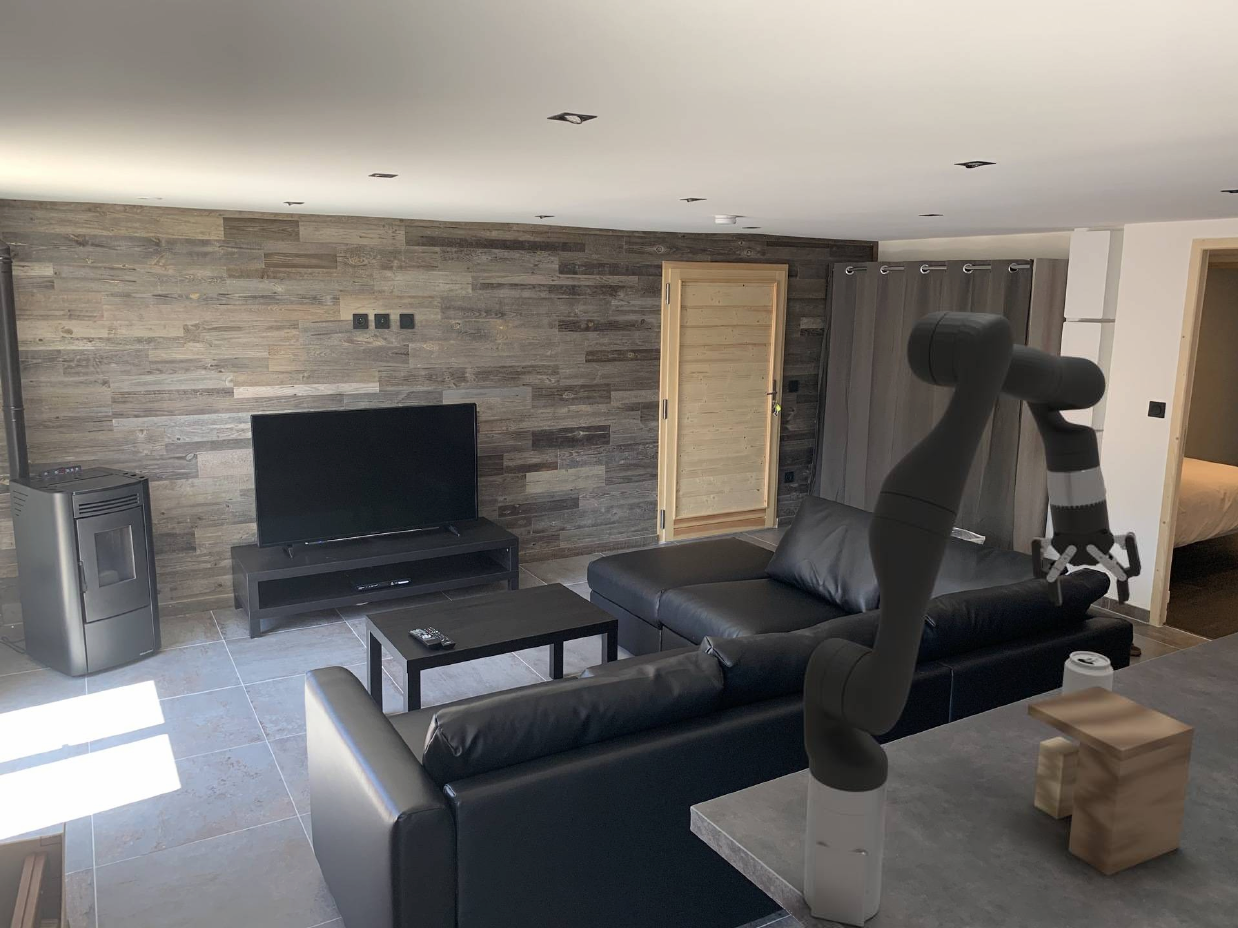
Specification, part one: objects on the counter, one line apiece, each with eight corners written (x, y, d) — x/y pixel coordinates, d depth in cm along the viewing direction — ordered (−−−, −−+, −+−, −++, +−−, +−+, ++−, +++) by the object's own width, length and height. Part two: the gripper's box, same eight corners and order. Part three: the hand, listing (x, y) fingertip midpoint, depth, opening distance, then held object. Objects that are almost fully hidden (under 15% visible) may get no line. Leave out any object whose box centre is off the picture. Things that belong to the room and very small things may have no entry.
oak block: (1034, 805, 141) (1040, 742, 139) (1053, 798, 143) (1059, 736, 141) (1057, 819, 138) (1063, 754, 136) (1076, 812, 139) (1083, 748, 137)
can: (1049, 717, 169) (1055, 652, 166) (1080, 709, 172) (1086, 645, 169) (1086, 736, 162) (1093, 669, 160) (1117, 727, 165) (1124, 661, 163)
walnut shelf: (1017, 818, 138) (1028, 704, 134) (1086, 795, 144) (1097, 685, 140) (1107, 875, 125) (1122, 750, 121) (1178, 847, 131) (1194, 727, 127)
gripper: (1020, 506, 142) (1034, 612, 144) (1129, 500, 134) (1143, 612, 136) (1029, 494, 148) (1042, 596, 150) (1133, 488, 141) (1146, 595, 143)
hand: (1090, 603), depth 143 cm, fingers open, 8 cm apart
